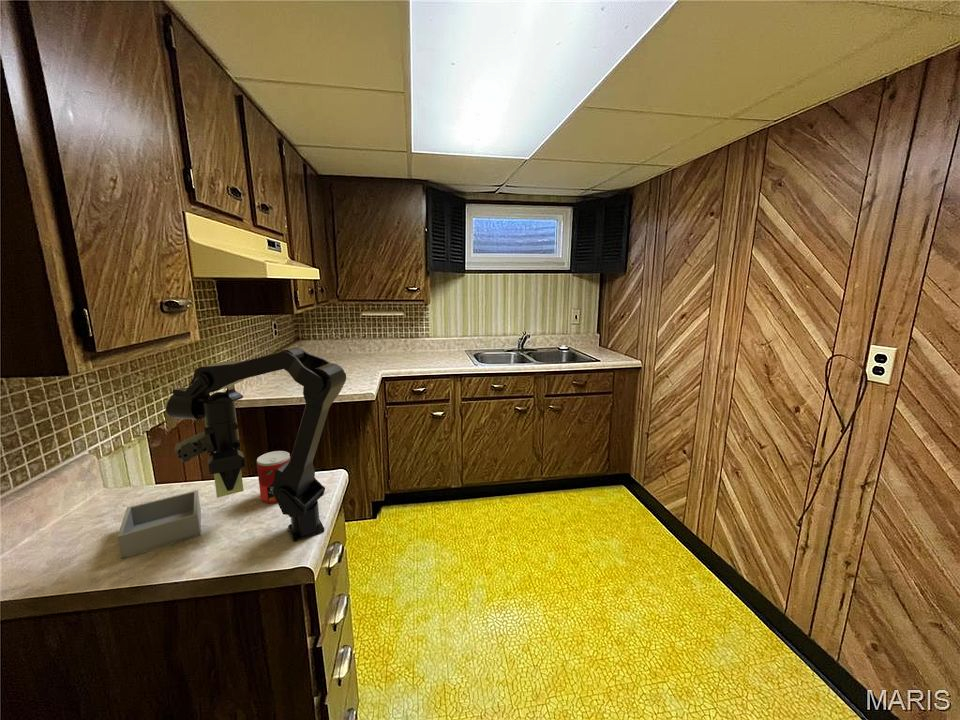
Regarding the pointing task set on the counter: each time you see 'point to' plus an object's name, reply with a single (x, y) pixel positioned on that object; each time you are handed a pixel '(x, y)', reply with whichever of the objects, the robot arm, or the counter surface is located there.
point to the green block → (222, 489)
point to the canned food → (269, 472)
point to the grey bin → (159, 523)
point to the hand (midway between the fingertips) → (229, 485)
